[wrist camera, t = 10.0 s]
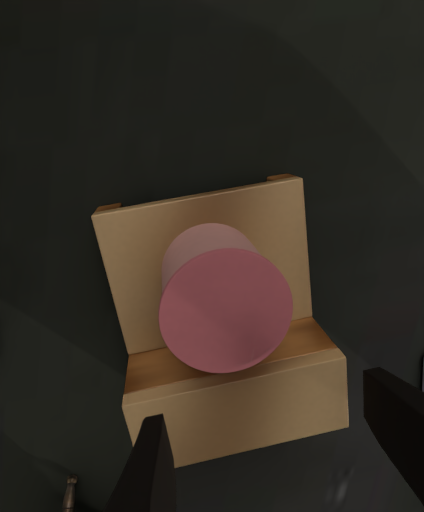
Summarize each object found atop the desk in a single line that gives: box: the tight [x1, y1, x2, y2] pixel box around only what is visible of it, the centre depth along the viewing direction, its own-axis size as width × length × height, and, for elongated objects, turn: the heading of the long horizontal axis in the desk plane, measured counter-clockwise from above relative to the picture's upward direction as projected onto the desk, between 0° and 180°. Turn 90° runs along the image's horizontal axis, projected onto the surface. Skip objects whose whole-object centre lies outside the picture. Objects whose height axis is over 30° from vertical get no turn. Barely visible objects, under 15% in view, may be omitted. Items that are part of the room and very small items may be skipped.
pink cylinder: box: [158, 223, 293, 373], centre depth 16 cm, size 5×5×5 cm
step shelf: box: [91, 173, 349, 468], centre depth 18 cm, size 10×12×6 cm
